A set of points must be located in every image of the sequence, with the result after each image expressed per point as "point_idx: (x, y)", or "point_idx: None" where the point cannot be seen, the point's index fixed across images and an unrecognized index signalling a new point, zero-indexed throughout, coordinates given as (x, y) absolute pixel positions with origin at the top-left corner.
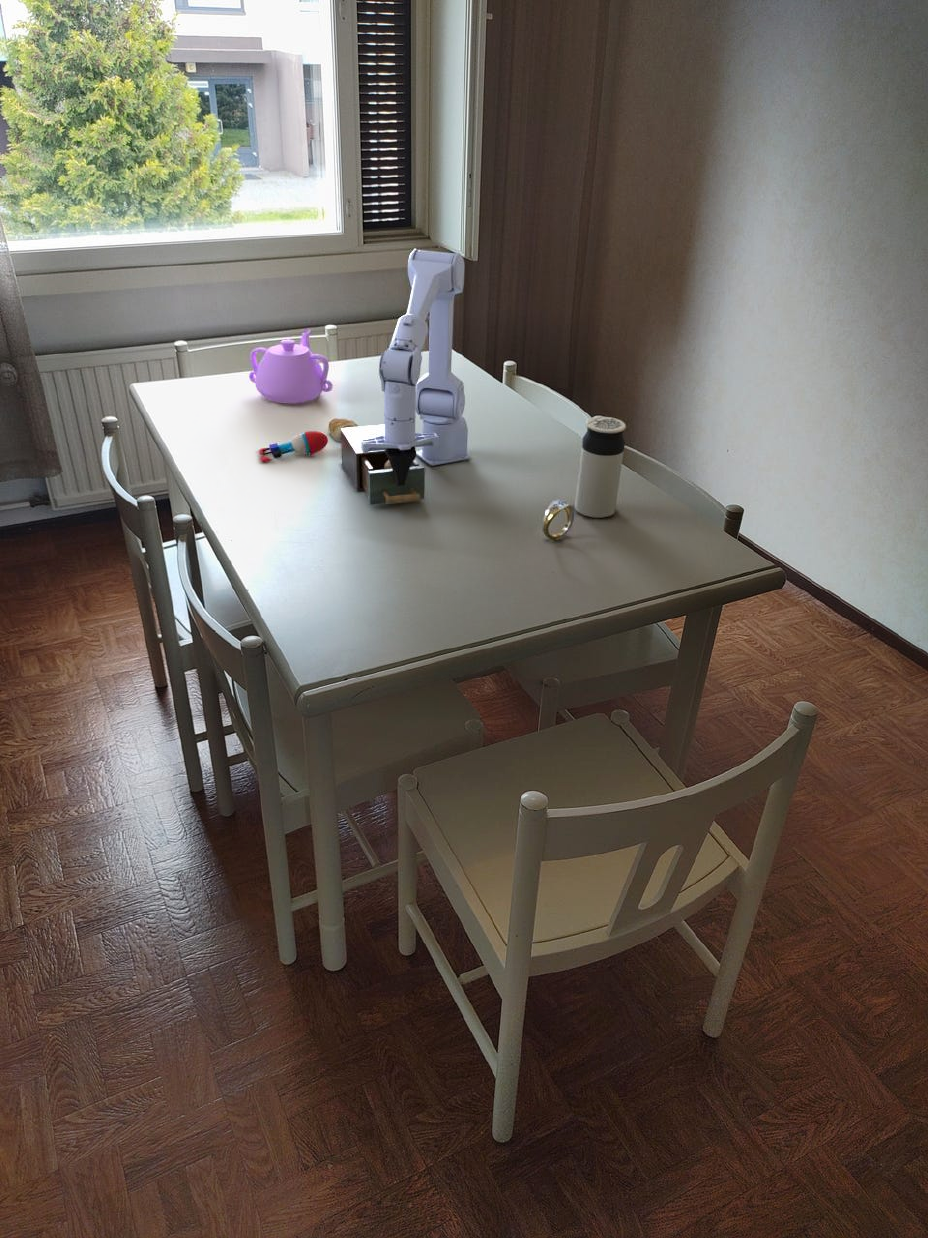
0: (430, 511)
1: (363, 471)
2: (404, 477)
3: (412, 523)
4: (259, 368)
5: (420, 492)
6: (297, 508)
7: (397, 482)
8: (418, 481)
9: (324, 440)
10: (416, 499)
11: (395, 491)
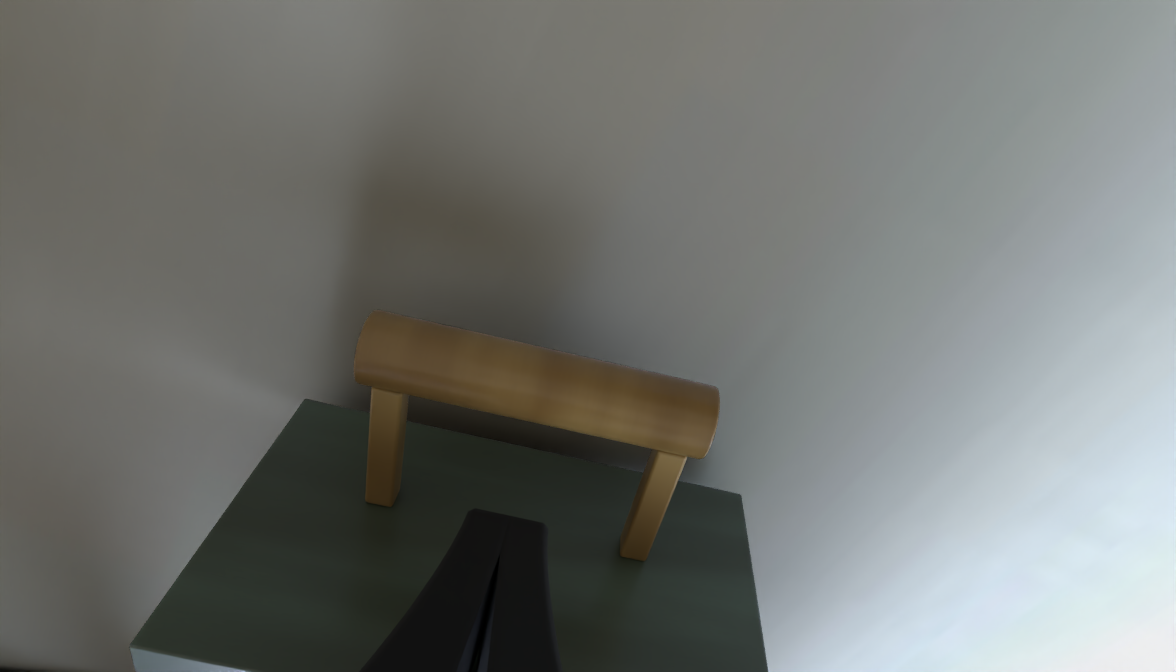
0: (319, 233)
1: None
2: (456, 584)
3: (569, 105)
4: None
5: (313, 444)
6: (1132, 656)
7: (547, 560)
8: (284, 530)
9: None
10: (413, 320)
11: (529, 519)
